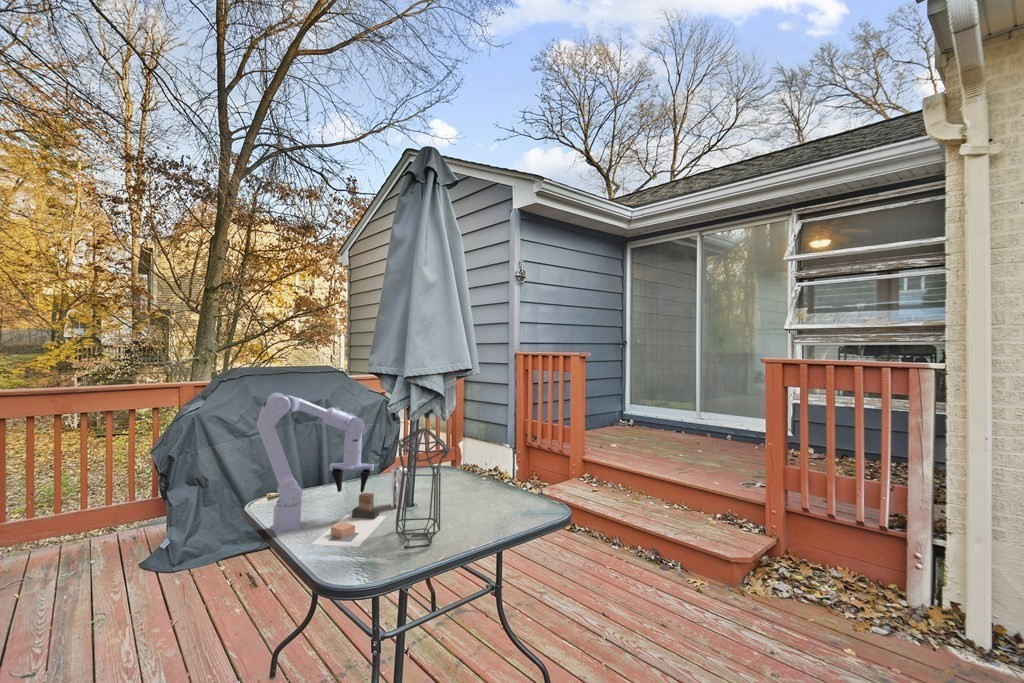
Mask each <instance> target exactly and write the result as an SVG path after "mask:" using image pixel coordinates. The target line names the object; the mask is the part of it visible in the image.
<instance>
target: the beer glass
mask: <svg viewBox="0 0 1024 683" xmlns="http://www.w3.org/2000/svg"><path fill="white" fill-rule="evenodd" d="M404 466H405V465H404ZM404 466H403V467H404ZM402 472H403V470H402V465H398V466H396V465H395V466H393V467H391V468H390V474H389V487H390V493H391V502H390V508H392V509H393V508H394V509H398V501H399V494H400V486H401V479H402ZM404 472H405V473H407V468H405V469H404ZM406 477H407V475H405V480H404V488H403V495H402V503H401V509H403V501H404V493H405V485H406ZM404 508H405V506H404Z"/></svg>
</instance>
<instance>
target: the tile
mask: <svg viewBox="0 0 1024 683" xmlns="http://www.w3.org/2000/svg"><path fill="white" fill-rule="evenodd" d="M334 525H335V524H334ZM330 528H331V535H332V536H335V537H338V538H341V539H342V538H345V537H347V536H350V535H352V534H355V525H352V524H349V523H346V522H343V523H340V524H337V525H335V526H330Z"/></svg>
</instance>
